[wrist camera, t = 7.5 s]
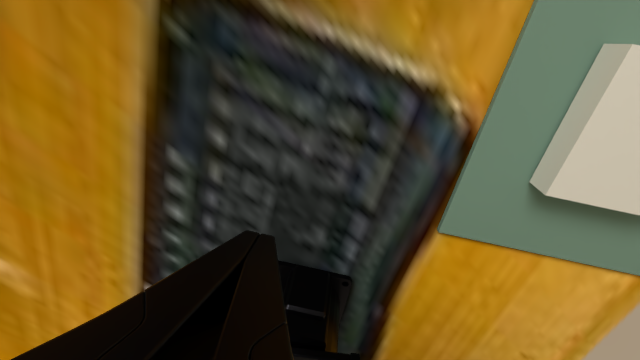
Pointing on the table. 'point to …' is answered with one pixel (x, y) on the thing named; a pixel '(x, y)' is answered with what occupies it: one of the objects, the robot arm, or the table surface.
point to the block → (599, 137)
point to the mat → (544, 142)
